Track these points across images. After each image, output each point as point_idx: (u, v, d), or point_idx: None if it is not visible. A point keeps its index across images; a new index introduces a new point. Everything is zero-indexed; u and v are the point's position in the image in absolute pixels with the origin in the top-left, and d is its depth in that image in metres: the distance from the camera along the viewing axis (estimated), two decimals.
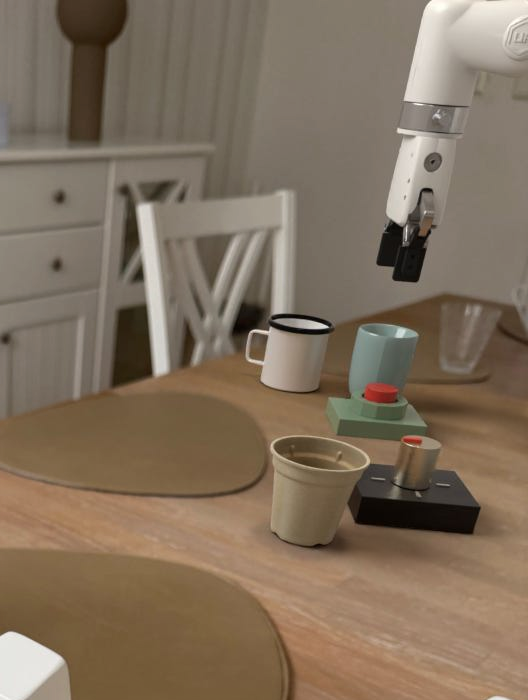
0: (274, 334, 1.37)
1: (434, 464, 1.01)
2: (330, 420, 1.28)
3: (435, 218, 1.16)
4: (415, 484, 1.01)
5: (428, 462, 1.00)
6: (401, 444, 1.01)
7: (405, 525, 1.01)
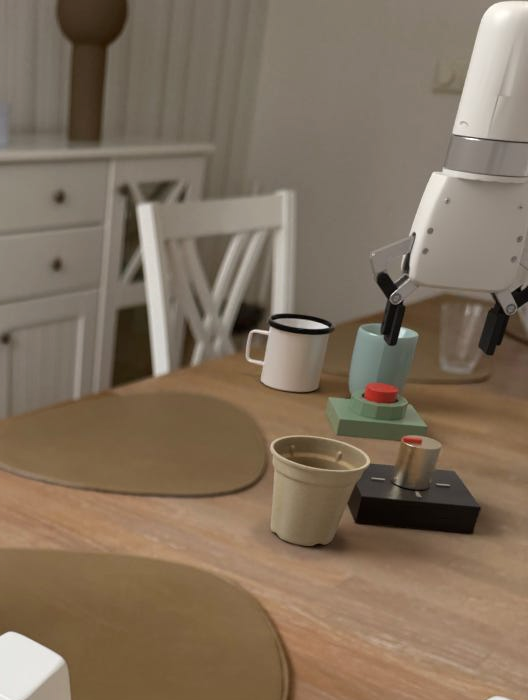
0: (274, 334, 1.37)
1: (434, 464, 1.01)
2: (330, 420, 1.28)
3: None
4: (415, 484, 1.01)
5: (428, 462, 1.00)
6: (401, 444, 1.01)
7: (405, 525, 1.01)
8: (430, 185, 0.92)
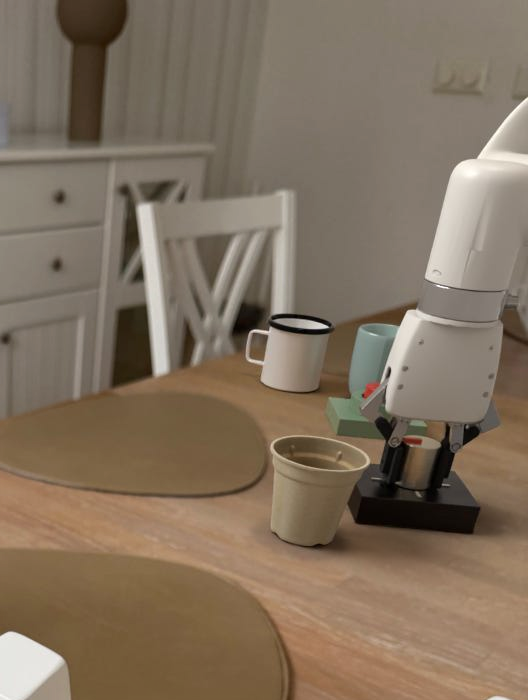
0: (274, 334, 1.37)
1: (434, 464, 1.01)
2: (330, 420, 1.28)
3: None
4: (415, 484, 1.01)
5: (428, 462, 1.00)
6: (401, 444, 1.01)
7: (405, 525, 1.01)
8: (404, 325, 0.95)
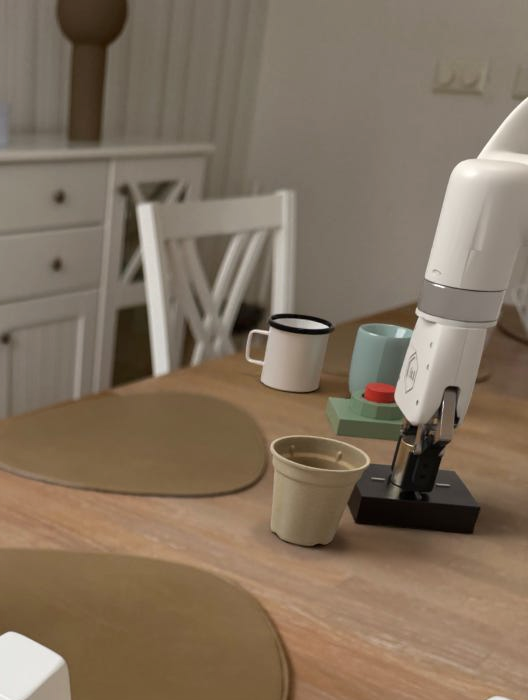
0: (274, 334, 1.37)
1: None
2: (330, 420, 1.28)
3: None
4: None
5: None
6: None
7: (405, 525, 1.01)
8: (464, 341, 0.91)
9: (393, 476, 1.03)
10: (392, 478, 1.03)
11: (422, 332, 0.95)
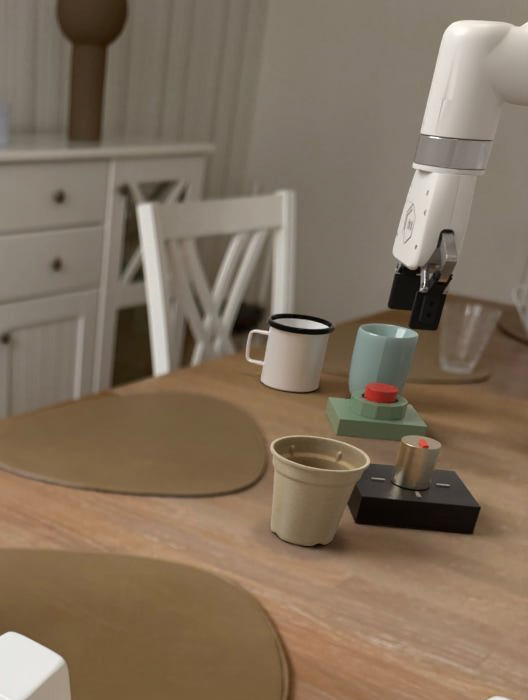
0: (274, 334, 1.37)
1: None
2: (330, 420, 1.28)
3: None
4: None
5: None
6: (425, 452, 1.00)
7: (405, 525, 1.01)
8: (457, 186, 1.03)
9: (393, 476, 1.03)
10: (392, 478, 1.03)
11: (419, 185, 1.07)
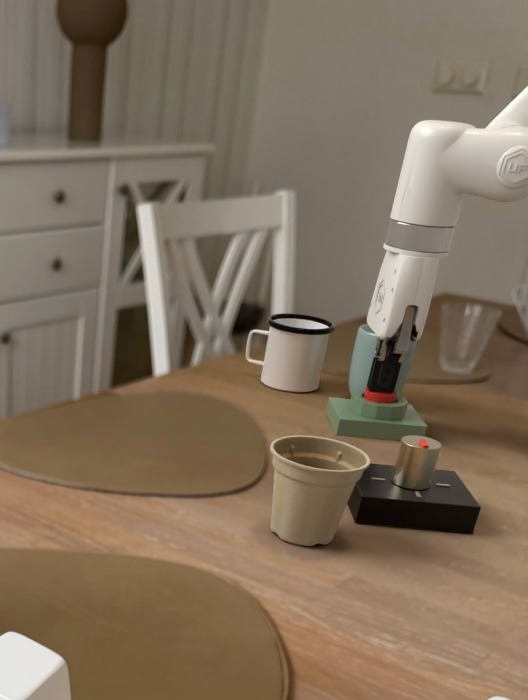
0: (274, 334, 1.37)
1: None
2: (330, 420, 1.28)
3: None
4: None
5: None
6: (425, 452, 1.00)
7: (405, 525, 1.01)
8: (421, 268, 1.13)
9: (393, 476, 1.03)
10: (392, 478, 1.03)
11: (389, 263, 1.17)
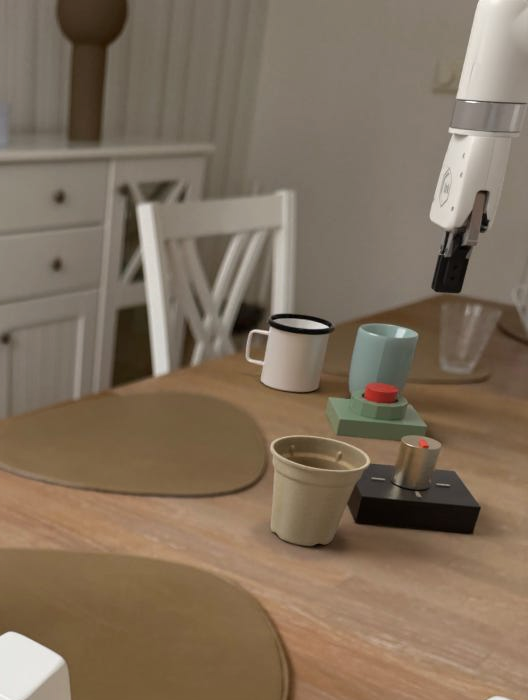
0: (274, 334, 1.37)
1: None
2: (330, 420, 1.28)
3: None
4: None
5: None
6: (425, 452, 1.00)
7: (405, 525, 1.01)
8: (492, 148, 1.06)
9: (393, 476, 1.03)
10: (392, 478, 1.03)
11: (455, 149, 1.10)
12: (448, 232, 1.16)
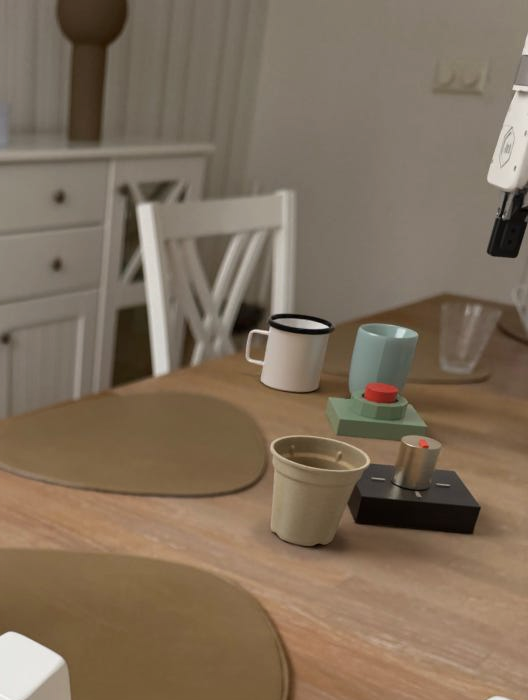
0: (274, 334, 1.37)
1: None
2: (330, 420, 1.28)
3: None
4: None
5: None
6: (425, 452, 1.00)
7: (405, 525, 1.01)
8: None
9: (393, 476, 1.03)
10: (392, 478, 1.03)
11: (519, 107, 1.08)
12: (507, 194, 1.13)
